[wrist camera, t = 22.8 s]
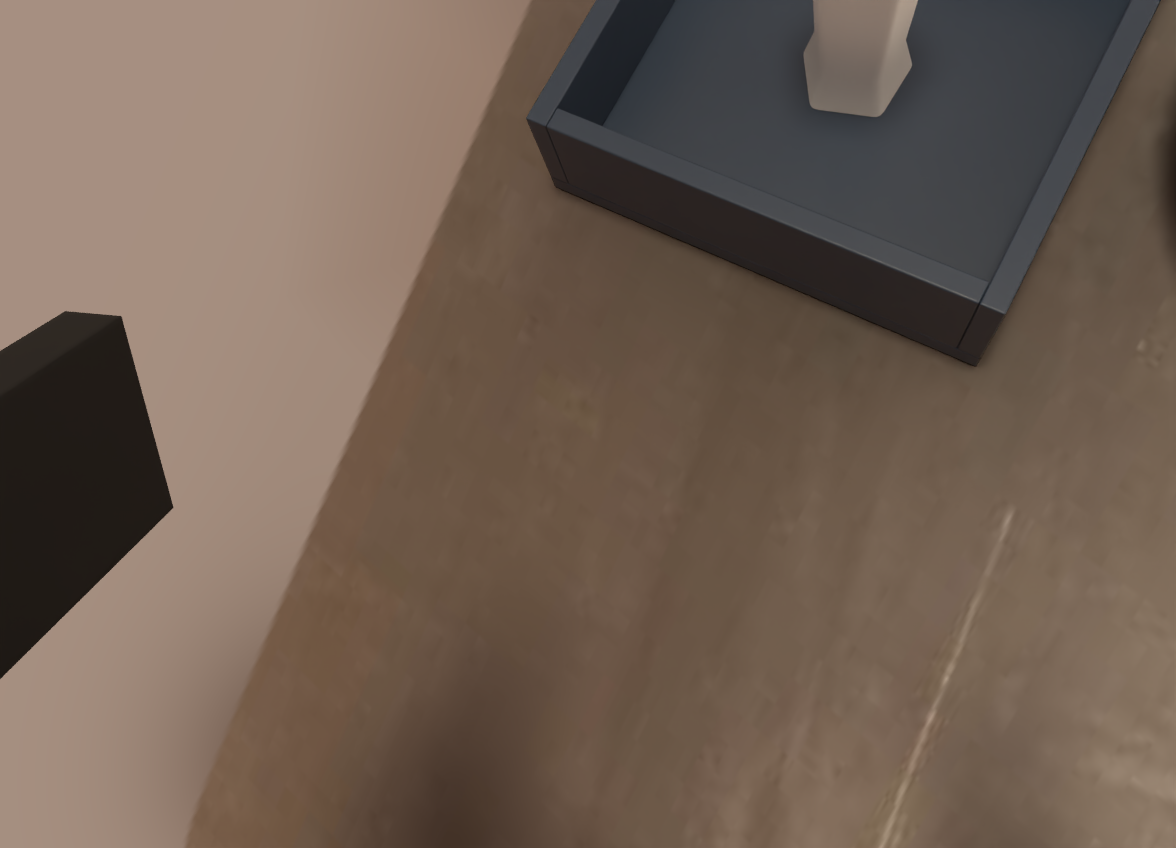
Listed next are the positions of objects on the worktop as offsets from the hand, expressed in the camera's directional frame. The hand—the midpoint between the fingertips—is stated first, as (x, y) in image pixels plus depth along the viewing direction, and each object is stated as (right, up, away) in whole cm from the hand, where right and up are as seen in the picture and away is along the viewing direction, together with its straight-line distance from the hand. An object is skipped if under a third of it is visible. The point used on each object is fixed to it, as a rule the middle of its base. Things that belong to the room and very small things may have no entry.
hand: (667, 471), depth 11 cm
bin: (+9, +13, +27) cm, 31 cm away
